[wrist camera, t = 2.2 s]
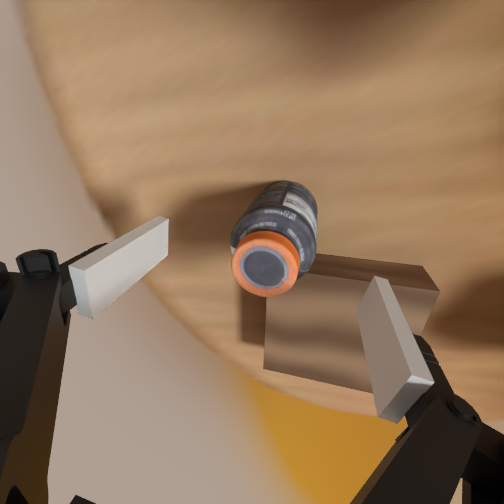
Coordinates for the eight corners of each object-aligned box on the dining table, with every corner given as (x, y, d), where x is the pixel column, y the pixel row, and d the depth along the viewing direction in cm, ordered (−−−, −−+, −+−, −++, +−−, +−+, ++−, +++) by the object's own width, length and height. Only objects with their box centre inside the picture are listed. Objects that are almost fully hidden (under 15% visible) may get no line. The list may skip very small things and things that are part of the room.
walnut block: (275, 248, 26) (267, 267, 23) (422, 266, 23) (440, 291, 20) (269, 342, 33) (263, 368, 29) (383, 365, 30) (392, 397, 26)
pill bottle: (257, 236, 26) (218, 305, 16) (255, 179, 23) (207, 220, 14) (315, 240, 25) (311, 317, 15) (320, 179, 22) (319, 225, 12)
